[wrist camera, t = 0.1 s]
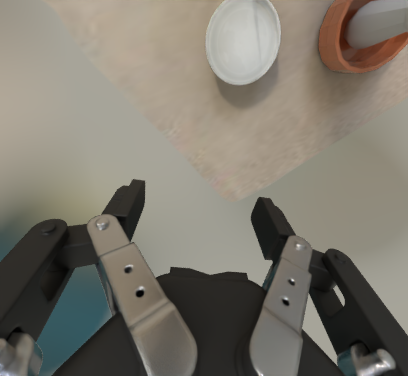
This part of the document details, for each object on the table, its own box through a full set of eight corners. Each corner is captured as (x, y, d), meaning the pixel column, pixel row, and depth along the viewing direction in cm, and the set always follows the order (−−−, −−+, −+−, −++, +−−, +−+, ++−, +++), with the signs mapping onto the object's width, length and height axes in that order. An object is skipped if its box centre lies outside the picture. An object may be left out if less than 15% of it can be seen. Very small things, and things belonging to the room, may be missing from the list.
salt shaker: (383, 15, 30) (490, -16, 19) (357, 55, 33) (437, 49, 22) (355, -3, 29) (453, -46, 18) (330, 41, 32) (401, 27, 21)
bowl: (343, -35, 27) (370, -53, 23) (413, -12, 29) (450, -26, 25) (304, 64, 34) (320, 63, 29) (363, 78, 35) (385, 79, 31)
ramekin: (282, 42, 32) (297, 37, 27) (236, 97, 36) (242, 101, 32) (237, -20, 28) (245, -37, 23) (191, 51, 32) (190, 48, 28)
